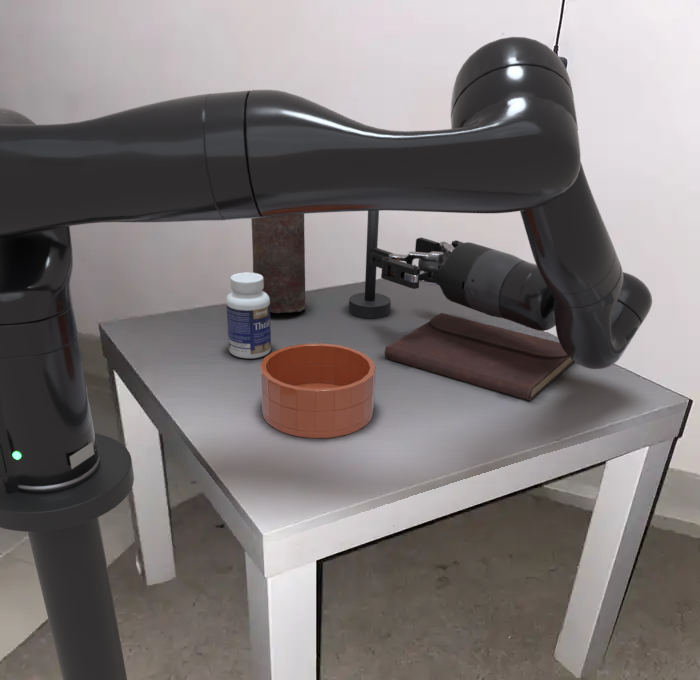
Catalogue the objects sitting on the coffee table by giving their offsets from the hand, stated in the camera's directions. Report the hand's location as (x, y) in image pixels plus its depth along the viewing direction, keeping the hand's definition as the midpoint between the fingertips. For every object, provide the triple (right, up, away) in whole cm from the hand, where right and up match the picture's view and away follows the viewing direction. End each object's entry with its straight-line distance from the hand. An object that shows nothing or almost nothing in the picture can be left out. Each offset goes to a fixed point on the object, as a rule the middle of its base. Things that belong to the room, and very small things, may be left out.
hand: (395, 250), depth 104 cm
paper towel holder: (-3, -7, +8) cm, 11 cm away
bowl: (-10, -23, -19) cm, 32 cm away
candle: (-16, -7, +7) cm, 19 cm away
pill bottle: (-19, -15, -5) cm, 25 cm away
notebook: (+11, -16, -6) cm, 20 cm away
